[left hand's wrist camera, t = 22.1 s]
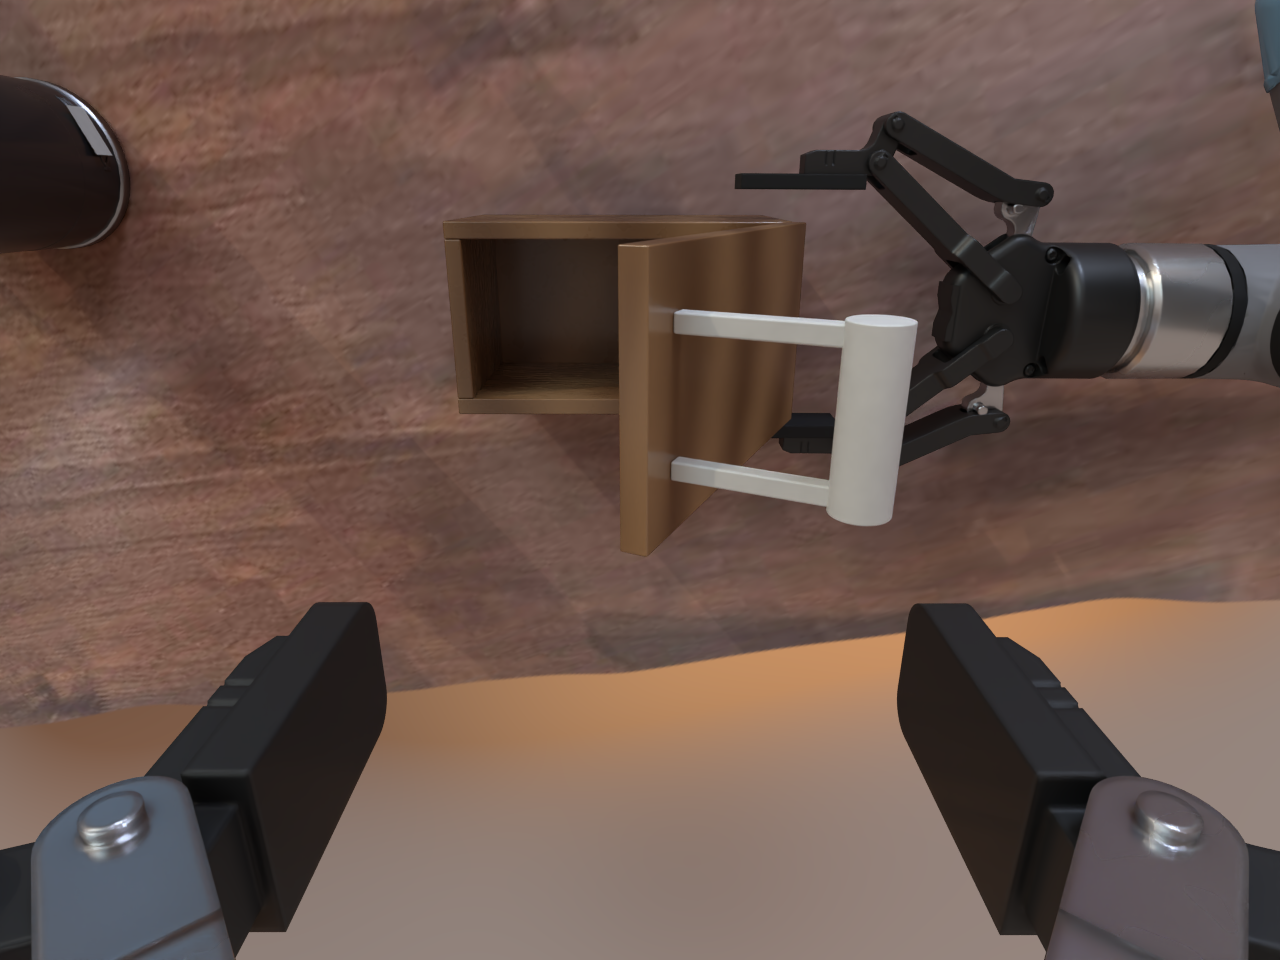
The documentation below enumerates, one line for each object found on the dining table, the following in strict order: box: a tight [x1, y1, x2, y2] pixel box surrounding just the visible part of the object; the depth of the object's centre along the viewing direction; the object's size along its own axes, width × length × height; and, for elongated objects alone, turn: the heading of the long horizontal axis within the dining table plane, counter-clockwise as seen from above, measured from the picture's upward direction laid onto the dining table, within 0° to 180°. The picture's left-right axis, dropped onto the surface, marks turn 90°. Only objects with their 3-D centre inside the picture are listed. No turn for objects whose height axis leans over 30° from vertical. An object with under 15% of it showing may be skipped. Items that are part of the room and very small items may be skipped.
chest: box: [443, 215, 791, 414], centre depth 44 cm, size 17×10×10 cm, turn 90°
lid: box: [618, 222, 918, 557], centre depth 29 cm, size 18×10×8 cm
